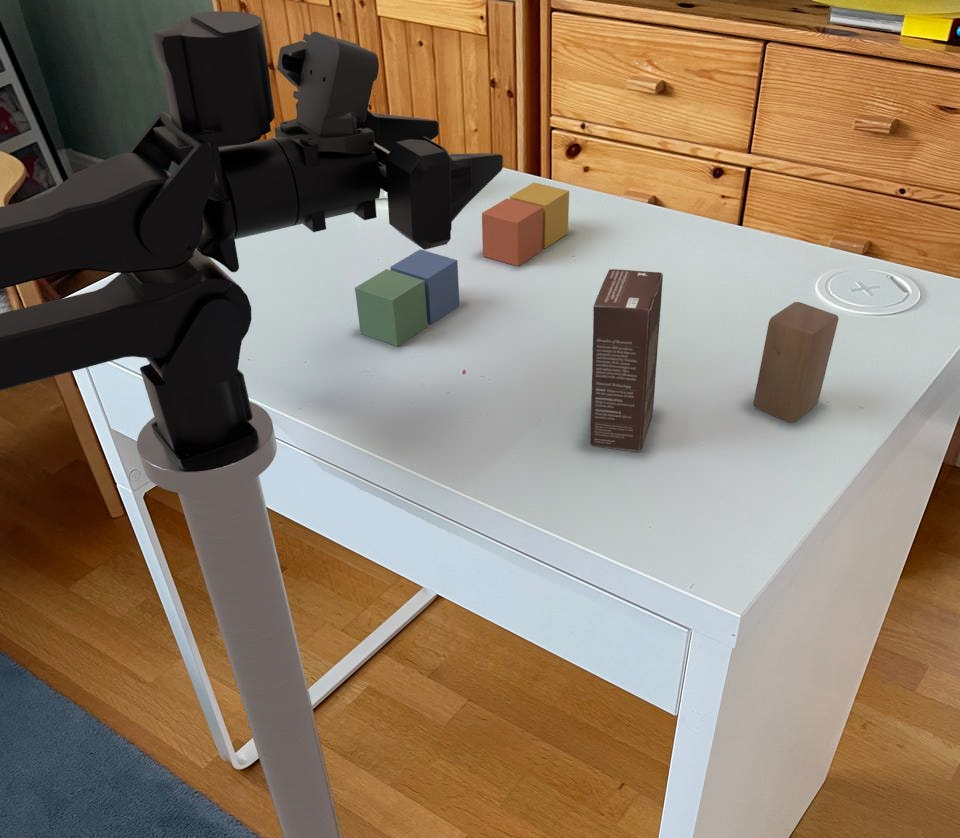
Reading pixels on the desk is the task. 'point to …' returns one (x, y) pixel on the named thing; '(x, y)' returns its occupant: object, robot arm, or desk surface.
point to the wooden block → (794, 361)
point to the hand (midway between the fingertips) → (468, 144)
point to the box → (624, 358)
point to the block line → (434, 278)
